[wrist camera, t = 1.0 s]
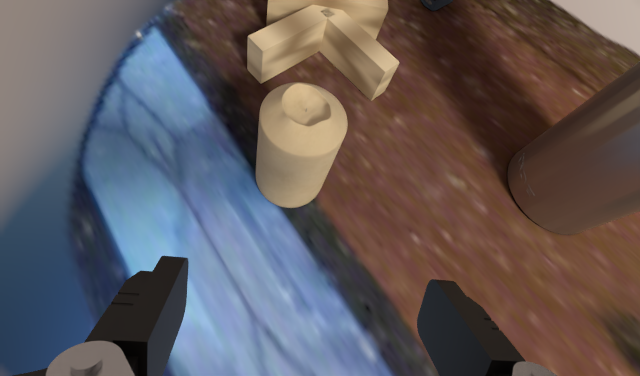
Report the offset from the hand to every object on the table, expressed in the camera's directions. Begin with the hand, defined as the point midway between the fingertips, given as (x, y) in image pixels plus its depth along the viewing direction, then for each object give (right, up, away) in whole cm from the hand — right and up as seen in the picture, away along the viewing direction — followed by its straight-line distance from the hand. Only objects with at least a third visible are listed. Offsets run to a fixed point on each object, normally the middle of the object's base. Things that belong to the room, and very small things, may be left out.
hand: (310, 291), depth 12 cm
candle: (-2, +4, +18) cm, 19 cm away
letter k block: (0, +17, +24) cm, 30 cm away
